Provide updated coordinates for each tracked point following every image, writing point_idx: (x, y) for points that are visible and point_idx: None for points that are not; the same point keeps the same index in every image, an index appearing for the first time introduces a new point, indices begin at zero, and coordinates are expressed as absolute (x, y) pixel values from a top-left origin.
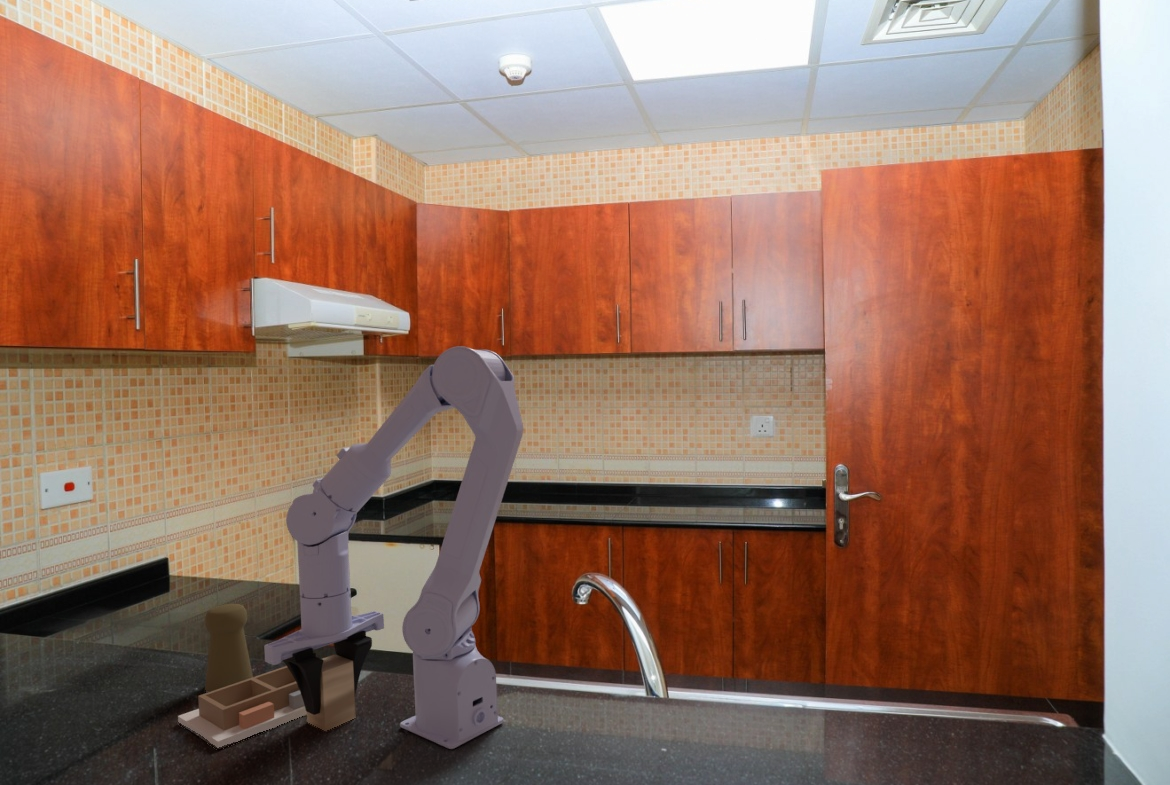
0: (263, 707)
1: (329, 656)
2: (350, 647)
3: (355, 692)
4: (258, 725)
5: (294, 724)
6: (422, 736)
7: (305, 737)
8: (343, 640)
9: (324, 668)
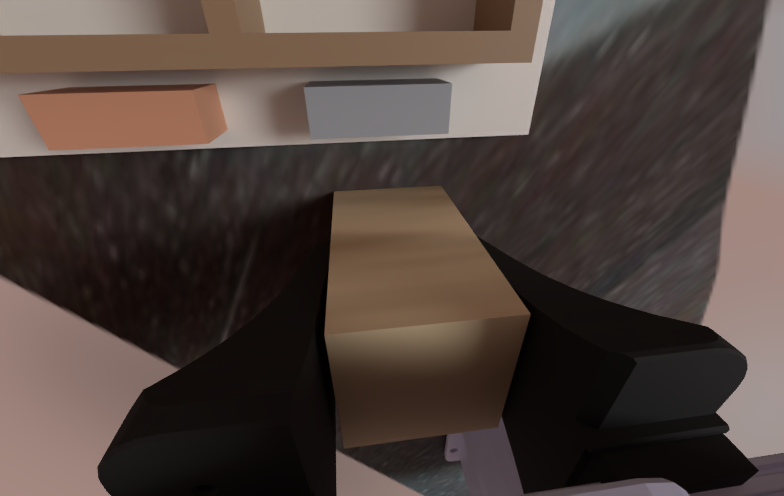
0: (155, 140)
1: (491, 320)
2: (539, 473)
3: None
4: (155, 148)
5: (298, 169)
6: None
7: (291, 270)
8: (577, 465)
9: (371, 426)
